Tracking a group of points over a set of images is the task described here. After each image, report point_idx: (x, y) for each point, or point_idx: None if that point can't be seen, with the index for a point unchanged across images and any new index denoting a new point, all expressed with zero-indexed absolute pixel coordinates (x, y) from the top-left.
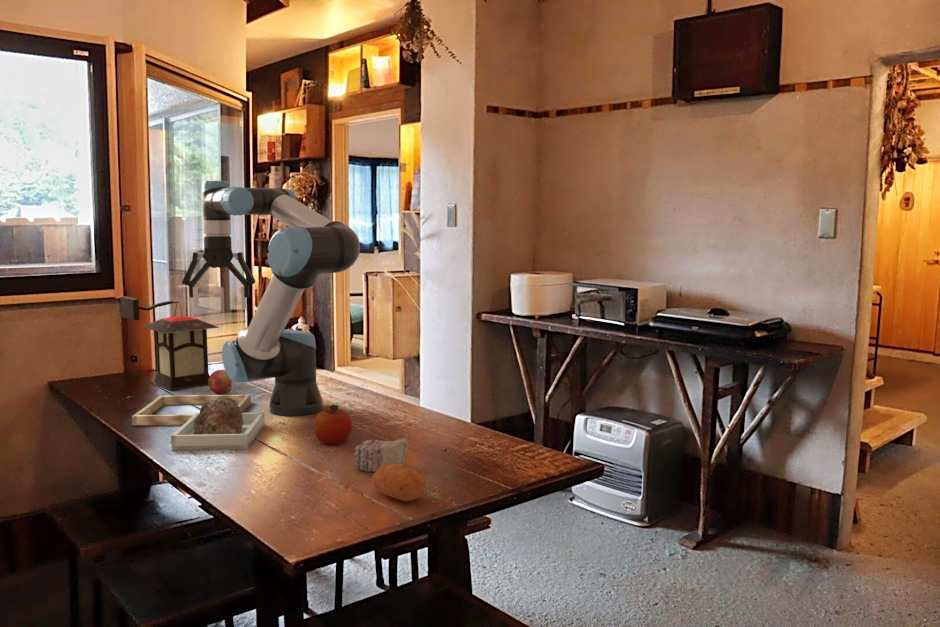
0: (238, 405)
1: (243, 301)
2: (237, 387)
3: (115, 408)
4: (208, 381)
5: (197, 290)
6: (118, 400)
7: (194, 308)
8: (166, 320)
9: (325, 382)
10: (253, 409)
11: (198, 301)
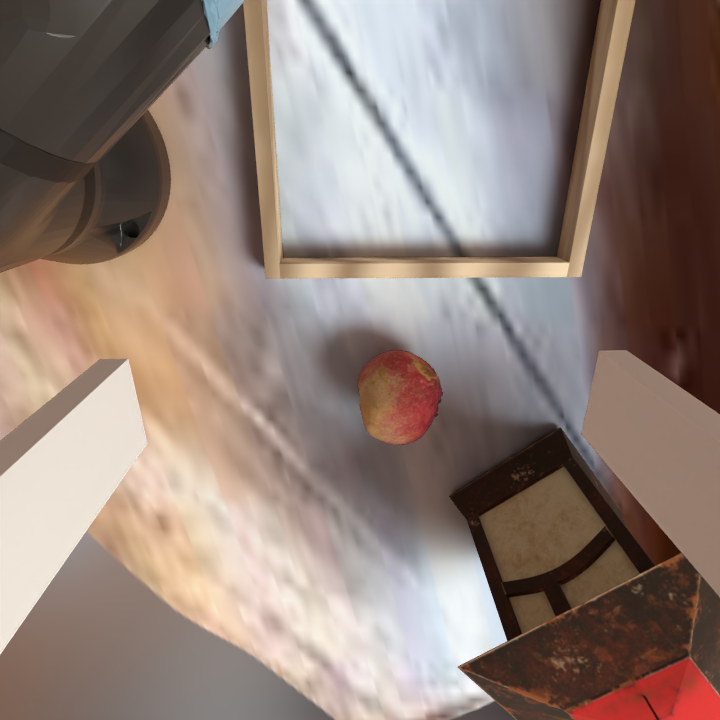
0: (260, 96)
1: (58, 397)
2: (366, 466)
3: (708, 215)
4: (436, 376)
5: (716, 558)
6: (704, 322)
7: (622, 355)
8: (715, 687)
9: (115, 515)
10: (233, 174)
11: (617, 474)
